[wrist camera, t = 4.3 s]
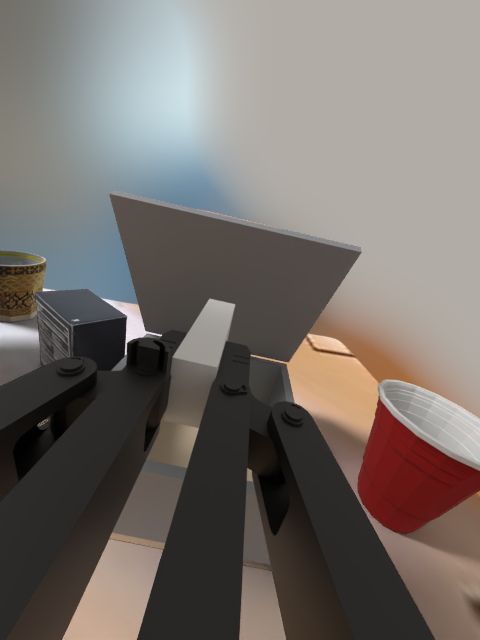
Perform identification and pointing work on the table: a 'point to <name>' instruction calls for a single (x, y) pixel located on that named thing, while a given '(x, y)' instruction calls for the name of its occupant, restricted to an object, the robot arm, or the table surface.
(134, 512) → the grey open rectangular box
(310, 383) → the table surface
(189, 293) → the lid
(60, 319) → the small box
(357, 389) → the table surface
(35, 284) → the ceramic cup
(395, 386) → the plastic cup
